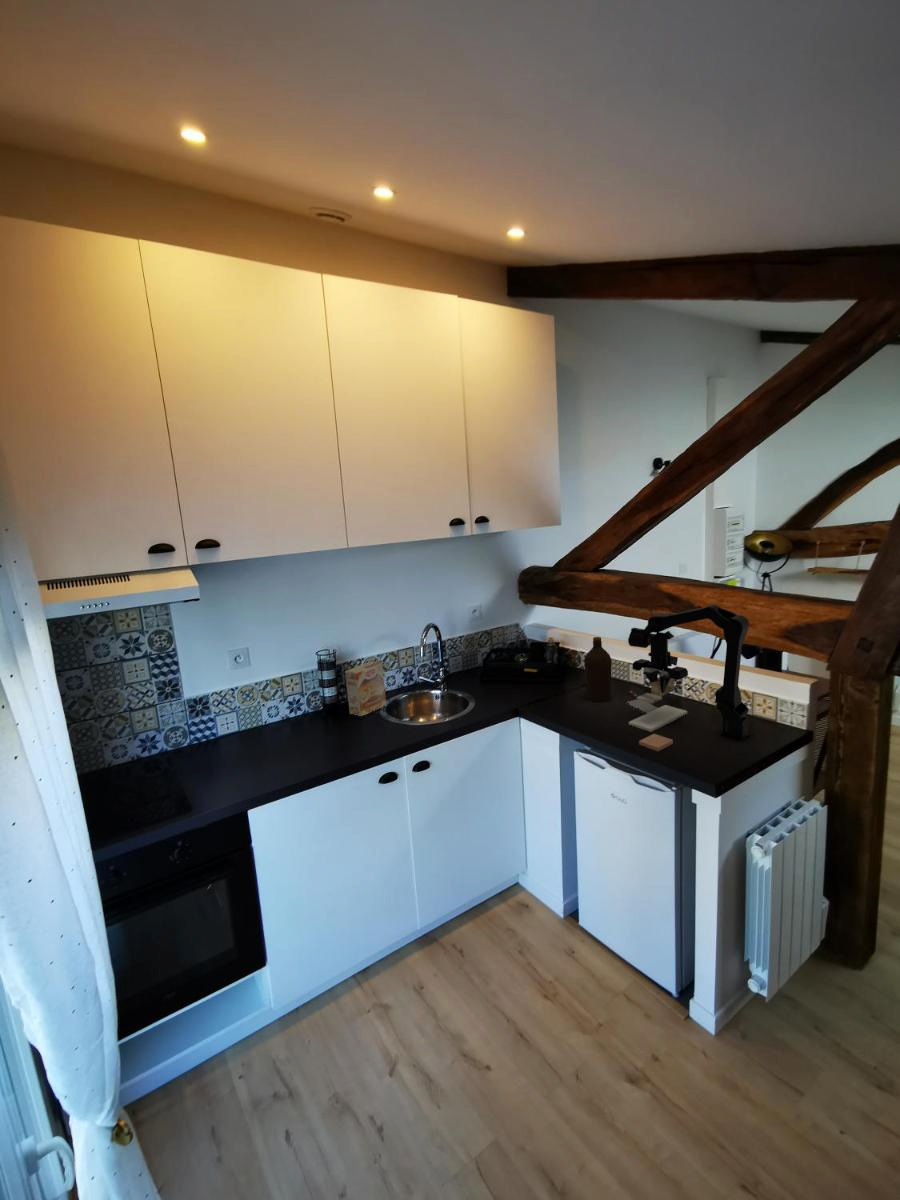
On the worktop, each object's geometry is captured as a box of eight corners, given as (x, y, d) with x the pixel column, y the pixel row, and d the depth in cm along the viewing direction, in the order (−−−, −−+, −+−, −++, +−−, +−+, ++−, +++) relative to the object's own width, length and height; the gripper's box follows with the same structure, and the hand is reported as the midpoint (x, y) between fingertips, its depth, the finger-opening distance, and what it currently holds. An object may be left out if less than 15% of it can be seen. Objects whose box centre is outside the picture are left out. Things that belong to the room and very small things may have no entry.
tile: (672, 739, 181) (658, 747, 176) (672, 744, 181) (658, 752, 177) (654, 733, 187) (639, 741, 182) (654, 738, 187) (639, 745, 182)
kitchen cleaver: (613, 693, 228) (637, 689, 229) (613, 695, 228) (637, 691, 229) (639, 716, 204) (665, 711, 205) (639, 718, 205) (665, 714, 205)
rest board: (687, 713, 203) (687, 711, 203) (651, 731, 191) (651, 729, 191) (665, 707, 211) (665, 704, 210) (628, 724, 198) (628, 721, 198)
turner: (663, 687, 206) (663, 674, 205) (678, 691, 201) (678, 678, 200) (637, 699, 197) (636, 685, 196) (652, 703, 192) (651, 689, 191)
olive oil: (617, 696, 225) (616, 636, 221) (603, 704, 218) (601, 642, 214) (595, 691, 233) (593, 633, 229) (580, 699, 226) (578, 639, 222)
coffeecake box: (361, 720, 223) (356, 673, 219) (349, 717, 227) (344, 670, 223) (387, 707, 234) (382, 662, 231) (375, 704, 239) (370, 660, 235)
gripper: (696, 649, 194) (696, 692, 196) (649, 640, 209) (650, 680, 211) (678, 656, 187) (678, 700, 190) (631, 647, 202) (632, 688, 205)
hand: (659, 691), depth 199 cm, fingers closed on turner, 2 cm apart
